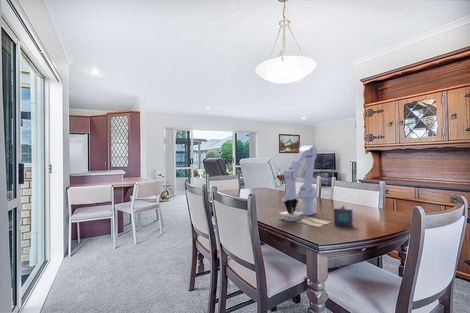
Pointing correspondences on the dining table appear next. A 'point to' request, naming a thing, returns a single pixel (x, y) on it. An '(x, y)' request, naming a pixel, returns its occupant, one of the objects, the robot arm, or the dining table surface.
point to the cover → (291, 213)
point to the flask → (343, 217)
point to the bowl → (290, 218)
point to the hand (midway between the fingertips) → (291, 212)
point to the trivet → (314, 222)
